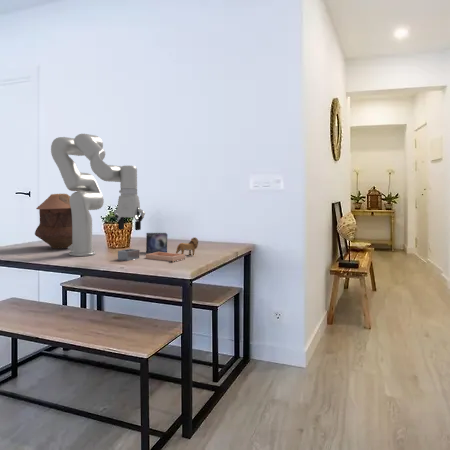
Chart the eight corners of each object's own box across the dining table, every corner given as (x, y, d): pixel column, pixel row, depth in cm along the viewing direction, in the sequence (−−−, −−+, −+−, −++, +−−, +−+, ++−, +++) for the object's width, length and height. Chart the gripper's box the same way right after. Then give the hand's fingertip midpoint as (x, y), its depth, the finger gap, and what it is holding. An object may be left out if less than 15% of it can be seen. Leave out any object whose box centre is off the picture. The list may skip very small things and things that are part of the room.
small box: (146, 254, 209) (147, 234, 208) (145, 252, 215) (145, 232, 214) (167, 253, 212) (167, 233, 211) (165, 251, 218) (166, 232, 217)
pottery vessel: (93, 245, 237) (92, 193, 234) (72, 251, 212) (71, 194, 209) (50, 244, 239) (50, 193, 237) (25, 250, 214) (24, 193, 212)
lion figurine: (193, 253, 213) (194, 236, 213) (200, 254, 210) (201, 237, 209) (172, 256, 203) (172, 238, 202) (179, 258, 199) (179, 239, 198)
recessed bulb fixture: (117, 259, 187) (117, 251, 187) (129, 257, 195) (129, 248, 195) (127, 260, 185) (127, 252, 185) (139, 258, 193) (139, 249, 192)
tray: (145, 259, 193) (145, 254, 193) (158, 256, 202) (158, 251, 202) (172, 262, 186) (173, 257, 186) (184, 259, 196) (184, 254, 195)
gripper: (108, 192, 188) (109, 229, 189) (139, 192, 180) (139, 231, 181) (119, 192, 194) (120, 228, 196) (149, 192, 187) (149, 229, 188)
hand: (129, 229), depth 189 cm, fingers open, 9 cm apart
